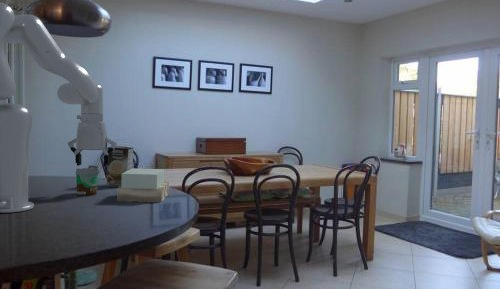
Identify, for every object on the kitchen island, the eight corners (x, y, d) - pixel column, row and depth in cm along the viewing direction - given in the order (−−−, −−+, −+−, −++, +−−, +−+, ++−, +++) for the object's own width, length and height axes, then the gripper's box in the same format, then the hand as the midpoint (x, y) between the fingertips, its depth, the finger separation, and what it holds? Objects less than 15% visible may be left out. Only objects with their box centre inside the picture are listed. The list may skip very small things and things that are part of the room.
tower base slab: (161, 203, 151) (161, 189, 150) (117, 202, 150) (117, 188, 150) (168, 195, 168) (168, 182, 167) (128, 194, 167) (129, 181, 167)
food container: (92, 197, 155) (92, 169, 154) (75, 197, 155) (75, 168, 154) (104, 191, 167) (105, 165, 167) (88, 191, 167) (89, 165, 167)
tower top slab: (156, 189, 151) (157, 174, 150) (121, 188, 150) (121, 173, 150) (164, 182, 167) (164, 169, 166) (132, 181, 166) (132, 168, 166)
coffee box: (105, 186, 180) (106, 147, 180) (112, 184, 187) (112, 146, 186) (127, 187, 180) (128, 148, 179) (133, 185, 186) (133, 147, 185)
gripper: (63, 118, 156) (64, 166, 157) (113, 119, 156) (113, 167, 158) (71, 117, 163) (72, 163, 164) (118, 118, 164) (119, 164, 165)
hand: (92, 165), depth 161 cm, fingers open, 9 cm apart
